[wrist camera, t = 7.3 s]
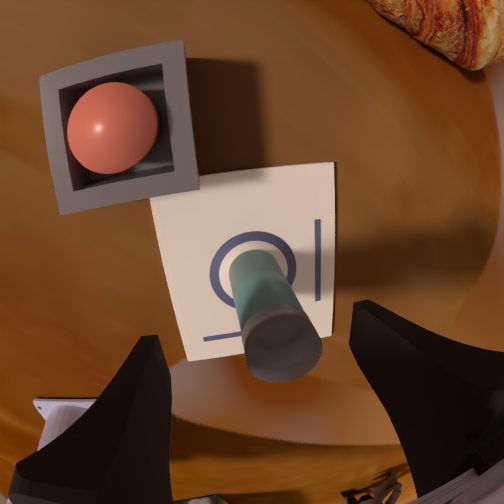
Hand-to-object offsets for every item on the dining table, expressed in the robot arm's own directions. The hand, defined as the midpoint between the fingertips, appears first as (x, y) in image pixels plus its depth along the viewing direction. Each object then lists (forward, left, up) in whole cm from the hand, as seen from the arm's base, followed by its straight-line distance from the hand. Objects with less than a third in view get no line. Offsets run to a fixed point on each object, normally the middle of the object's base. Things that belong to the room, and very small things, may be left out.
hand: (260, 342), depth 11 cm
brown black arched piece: (-48, -17, -10) cm, 51 cm away
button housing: (+8, +5, -9) cm, 13 cm away
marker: (-2, -1, -9) cm, 9 cm away
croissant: (+16, -17, -10) cm, 26 cm away
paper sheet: (-2, -1, -9) cm, 10 cm away
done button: (+8, +5, -7) cm, 12 cm away
